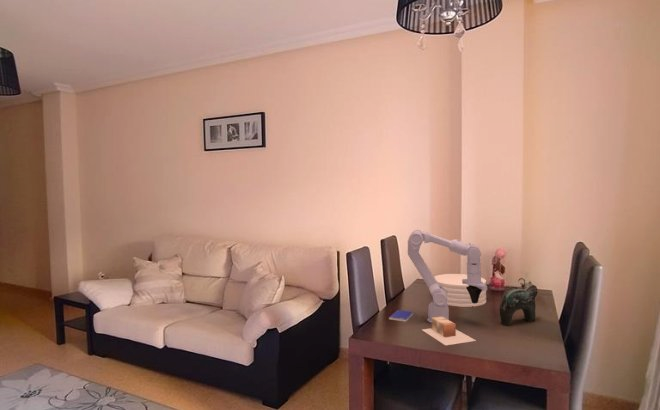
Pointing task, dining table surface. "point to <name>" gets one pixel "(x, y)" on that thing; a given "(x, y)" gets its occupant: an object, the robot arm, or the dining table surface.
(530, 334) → the dining table surface
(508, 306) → the green elephant figurine
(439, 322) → the birch block
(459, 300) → the plate stack
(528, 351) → the dining table surface
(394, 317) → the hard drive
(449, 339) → the beige mat
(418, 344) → the dining table surface
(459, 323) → the dining table surface
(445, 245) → the robot arm
